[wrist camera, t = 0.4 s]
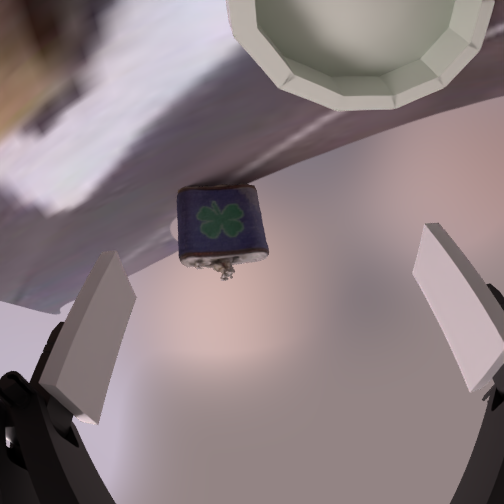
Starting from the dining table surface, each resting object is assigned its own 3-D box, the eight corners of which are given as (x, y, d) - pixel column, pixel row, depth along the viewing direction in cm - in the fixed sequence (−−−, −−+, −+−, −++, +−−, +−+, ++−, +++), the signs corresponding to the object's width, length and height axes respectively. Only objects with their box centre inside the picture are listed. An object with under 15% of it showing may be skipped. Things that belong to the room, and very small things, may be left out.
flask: (257, 182, 35) (274, 267, 30) (253, 198, 37) (269, 279, 33) (175, 186, 33) (178, 275, 28) (177, 201, 36) (180, 286, 31)
